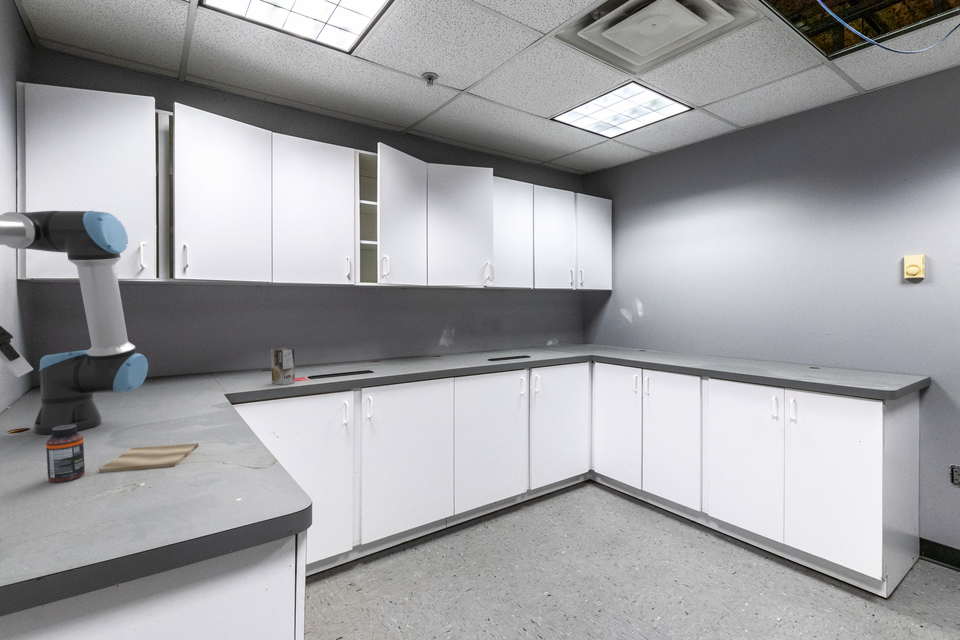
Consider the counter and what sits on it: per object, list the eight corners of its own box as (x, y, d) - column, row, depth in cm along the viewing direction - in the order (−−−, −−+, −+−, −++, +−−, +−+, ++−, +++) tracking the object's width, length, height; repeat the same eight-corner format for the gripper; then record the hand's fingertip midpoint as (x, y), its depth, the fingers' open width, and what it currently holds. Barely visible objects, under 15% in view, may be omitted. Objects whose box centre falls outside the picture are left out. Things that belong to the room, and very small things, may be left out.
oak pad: (132, 450, 116) (132, 447, 116) (198, 446, 119) (198, 443, 119) (99, 472, 101) (98, 468, 101) (174, 466, 105) (174, 462, 105)
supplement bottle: (56, 475, 100) (54, 424, 99) (90, 471, 102) (88, 421, 101) (41, 485, 94) (39, 431, 94) (77, 481, 96) (75, 428, 96)
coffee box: (295, 383, 212) (294, 348, 211) (283, 385, 206) (282, 350, 206) (283, 381, 217) (282, 347, 216) (271, 383, 211) (270, 349, 211)
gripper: (-124, 303, 87) (-39, 391, 95) (-74, 281, 76) (17, 382, 85) (-73, 287, 93) (2, 371, 101) (-20, 264, 82) (59, 360, 91)
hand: (9, 376), depth 93 cm, fingers open, 13 cm apart
